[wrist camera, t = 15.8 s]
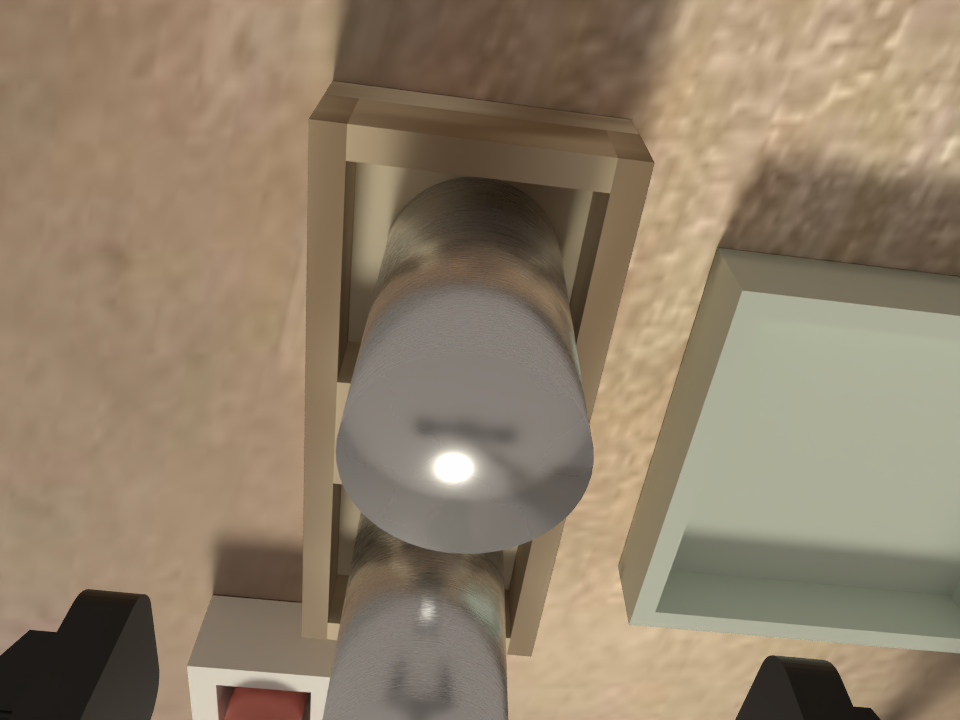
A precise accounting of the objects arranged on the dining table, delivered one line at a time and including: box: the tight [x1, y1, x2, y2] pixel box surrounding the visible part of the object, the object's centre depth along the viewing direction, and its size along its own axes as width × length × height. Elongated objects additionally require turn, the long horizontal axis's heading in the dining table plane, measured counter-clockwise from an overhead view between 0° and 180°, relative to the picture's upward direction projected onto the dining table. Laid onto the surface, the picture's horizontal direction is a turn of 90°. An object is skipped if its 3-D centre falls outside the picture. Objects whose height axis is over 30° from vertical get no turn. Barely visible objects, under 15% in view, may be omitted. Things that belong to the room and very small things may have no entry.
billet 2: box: [322, 512, 508, 720], centre depth 22 cm, size 4×4×8 cm
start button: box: [224, 686, 307, 720], centre depth 29 cm, size 3×3×2 cm
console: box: [187, 595, 337, 720], centre depth 30 cm, size 5×5×3 cm
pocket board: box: [302, 81, 654, 656], centre depth 23 cm, size 7×17×3 cm, turn 173°
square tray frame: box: [618, 248, 960, 653], centre depth 25 cm, size 12×12×2 cm
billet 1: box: [336, 177, 593, 554], centre depth 18 cm, size 4×4×8 cm
